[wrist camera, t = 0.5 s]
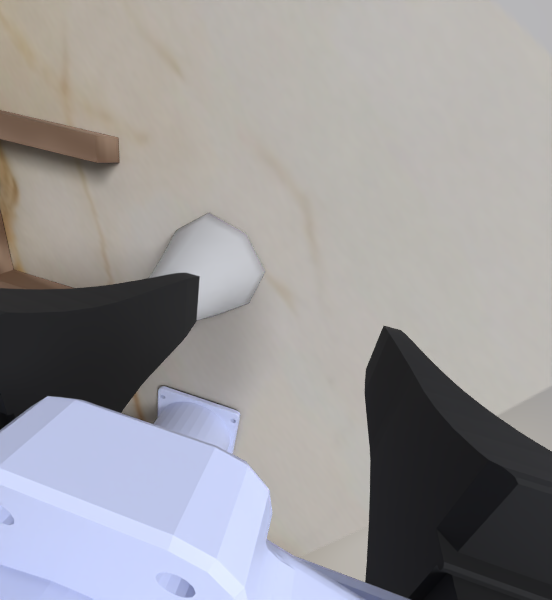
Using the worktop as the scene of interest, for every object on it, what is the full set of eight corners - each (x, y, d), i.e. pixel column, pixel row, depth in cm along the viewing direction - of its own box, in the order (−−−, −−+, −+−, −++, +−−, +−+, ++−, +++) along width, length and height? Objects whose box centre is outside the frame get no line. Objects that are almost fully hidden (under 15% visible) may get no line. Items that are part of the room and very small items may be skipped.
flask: (152, 260, 23) (28, 323, 14) (209, 191, 20) (93, 217, 11) (220, 327, 24) (144, 423, 15) (284, 271, 21) (233, 353, 12)
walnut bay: (126, 328, 26) (110, 340, 25) (5, 290, 28) (-19, 299, 26) (117, 120, 19) (93, 116, 17) (-46, 83, 21) (-83, 76, 19)
